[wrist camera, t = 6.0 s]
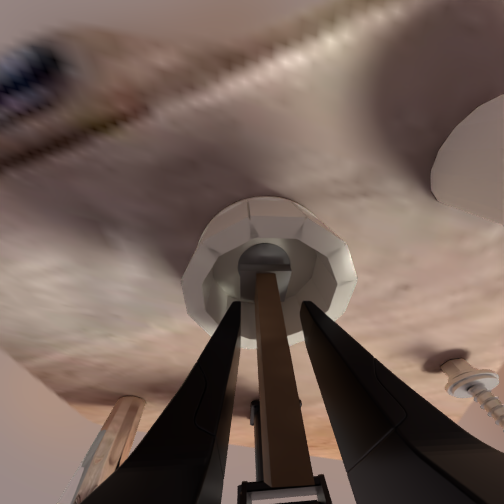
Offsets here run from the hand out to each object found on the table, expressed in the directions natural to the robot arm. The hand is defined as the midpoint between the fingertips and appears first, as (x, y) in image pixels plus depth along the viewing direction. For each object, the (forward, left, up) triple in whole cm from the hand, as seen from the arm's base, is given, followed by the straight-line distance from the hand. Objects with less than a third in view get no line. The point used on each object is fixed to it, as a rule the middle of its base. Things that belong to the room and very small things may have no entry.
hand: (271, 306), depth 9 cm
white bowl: (0, 0, -4) cm, 4 cm away
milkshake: (-20, +15, -4) cm, 25 cm away
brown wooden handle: (-1, 0, -3) cm, 3 cm away
